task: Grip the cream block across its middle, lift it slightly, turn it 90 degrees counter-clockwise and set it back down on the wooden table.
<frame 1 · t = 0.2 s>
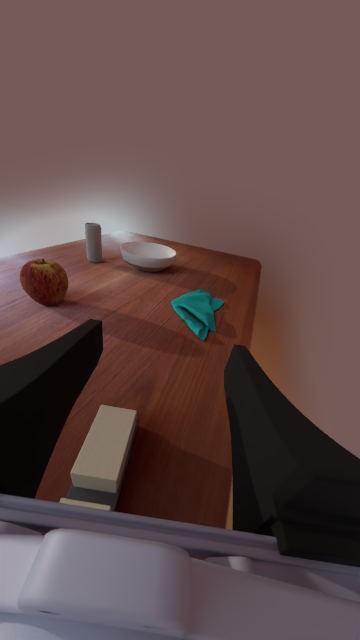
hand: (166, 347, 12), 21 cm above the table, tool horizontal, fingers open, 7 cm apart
bowl: (147, 266, 82), on the table
apple: (49, 302, 52), on the table
beverage can: (94, 261, 79), on the table
cloth: (195, 310, 60), on the table
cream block: (83, 531, 21), on the table
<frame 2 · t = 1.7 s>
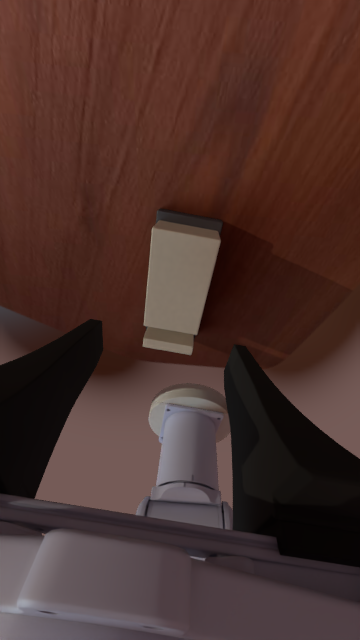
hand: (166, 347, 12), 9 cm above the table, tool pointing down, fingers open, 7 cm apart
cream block: (171, 330, 23), on the table
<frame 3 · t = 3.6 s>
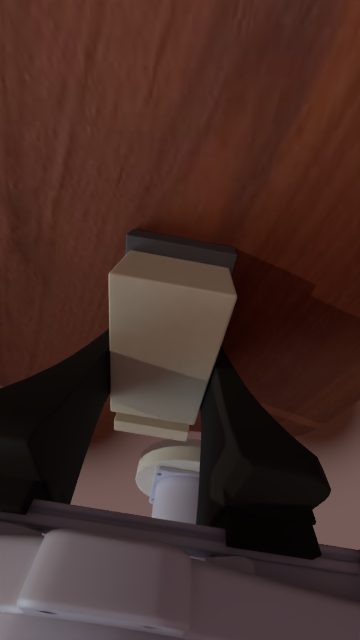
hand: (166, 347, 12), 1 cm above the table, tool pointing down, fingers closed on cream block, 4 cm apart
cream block: (158, 391, 16), on the table, touching gripper
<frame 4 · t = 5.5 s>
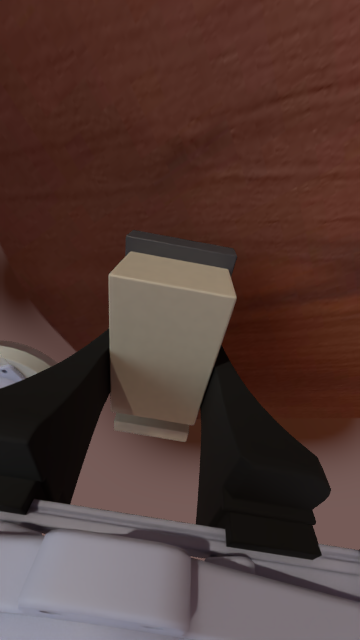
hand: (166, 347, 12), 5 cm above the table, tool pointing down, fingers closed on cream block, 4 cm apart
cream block: (158, 392, 16), point 3 cm above the table, touching gripper
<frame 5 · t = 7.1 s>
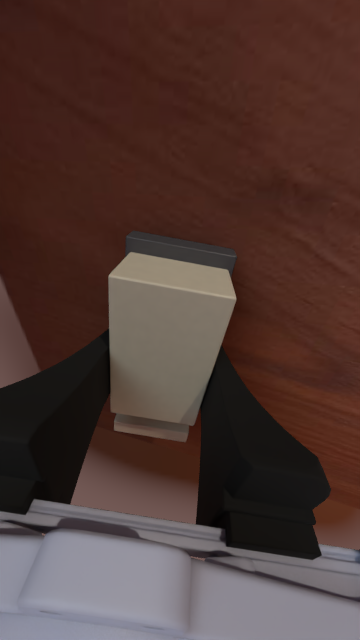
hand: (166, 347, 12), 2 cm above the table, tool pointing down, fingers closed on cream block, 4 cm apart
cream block: (158, 392, 16), point 1 cm above the table, touching gripper
when the fingers open (1 cm above the table, at t = 7.8 s): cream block stays where it is, on the table.
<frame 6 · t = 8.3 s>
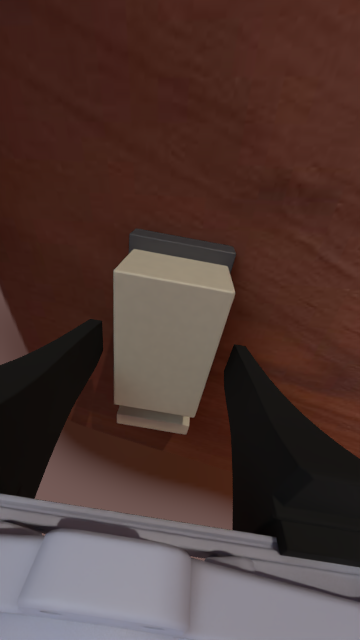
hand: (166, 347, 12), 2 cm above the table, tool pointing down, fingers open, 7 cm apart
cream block: (159, 387, 17), on the table
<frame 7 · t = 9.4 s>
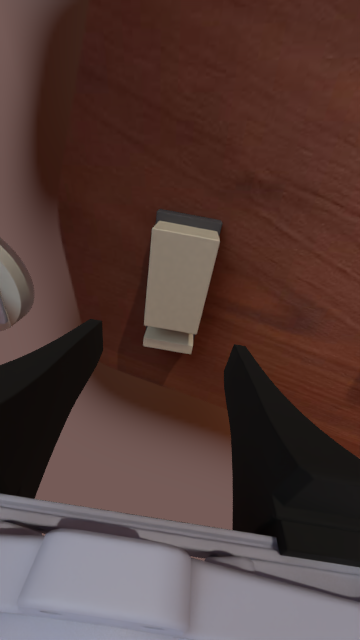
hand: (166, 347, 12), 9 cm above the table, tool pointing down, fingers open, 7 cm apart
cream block: (170, 329, 23), on the table
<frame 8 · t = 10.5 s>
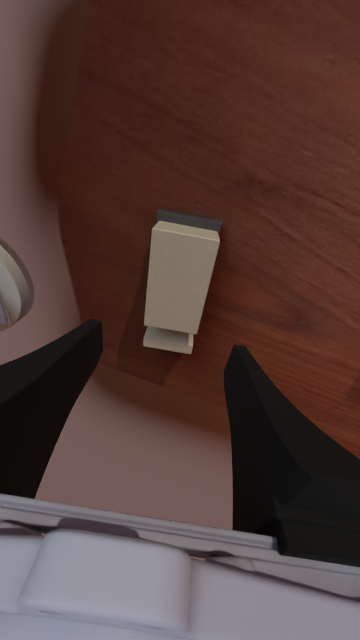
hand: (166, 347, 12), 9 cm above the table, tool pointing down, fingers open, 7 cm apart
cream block: (170, 329, 23), on the table
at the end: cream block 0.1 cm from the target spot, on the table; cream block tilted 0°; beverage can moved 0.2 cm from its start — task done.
